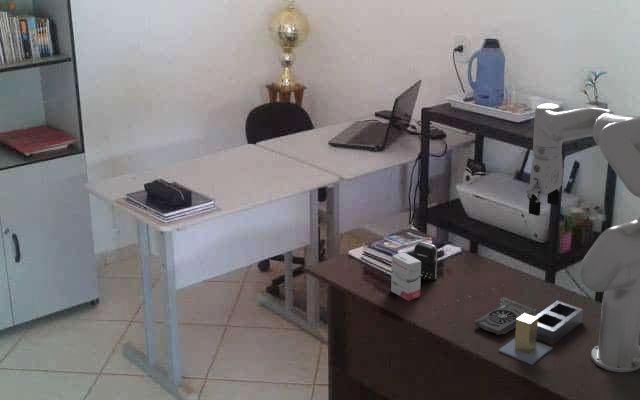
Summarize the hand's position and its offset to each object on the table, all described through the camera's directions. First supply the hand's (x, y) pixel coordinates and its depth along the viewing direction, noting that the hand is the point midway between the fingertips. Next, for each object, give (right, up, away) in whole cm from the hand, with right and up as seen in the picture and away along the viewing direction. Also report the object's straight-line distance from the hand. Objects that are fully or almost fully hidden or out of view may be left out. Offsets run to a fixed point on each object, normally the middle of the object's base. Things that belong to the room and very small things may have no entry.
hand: (543, 209), depth 239 cm
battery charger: (-29, -22, +31) cm, 48 cm away
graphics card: (-11, -32, +4) cm, 34 cm away
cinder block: (+3, -33, -1) cm, 33 cm away
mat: (-8, -37, -11) cm, 39 cm away
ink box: (-36, -26, +21) cm, 49 cm away
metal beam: (-17, -27, +19) cm, 37 cm away
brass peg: (-8, -37, -11) cm, 39 cm away
